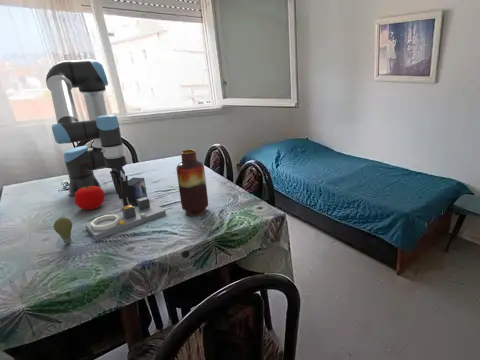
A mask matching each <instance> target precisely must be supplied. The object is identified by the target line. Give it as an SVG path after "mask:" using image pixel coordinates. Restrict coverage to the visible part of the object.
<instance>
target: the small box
mask: <svg viewBox="0 0 480 360" xmlns="http://www.w3.org/2000/svg"><path fill="white" fill-rule="evenodd" d="M128 190H129V197H127V198H128V203H129V205H132V206H133V207H138V203H137V199H140V198H143V197H147V198H148V191H147V187H146V180H145V178H144V177H131V178H130V179H128Z"/></svg>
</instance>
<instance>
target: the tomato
mask: <svg viewBox="0 0 480 360" xmlns="http://www.w3.org/2000/svg"><path fill="white" fill-rule="evenodd" d="M73 200H74V203H75V205H76V206H77V207H78V208H79V209H81V210H95V209H97V208H99V207H100V206H102V205H103V203H104V200H105V192H104V190H103V189H102V188H100V187H97V186H94V185H93V186H86V187H85V186H84V187H83V188H81V189H79V190H78V191H77V192H76V194H75V196H74V199H73Z"/></svg>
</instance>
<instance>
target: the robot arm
mask: <svg viewBox="0 0 480 360" xmlns="http://www.w3.org/2000/svg"><path fill="white" fill-rule="evenodd" d="M45 82H46V83H45V84H46V88H47V90H49V92H50V94H51V98H52V104H53V108H54V114H55V118H56V123H55V124H52V125H51V130H52V134H53V138H54V141H55V143H56V144H58V145H60V144H61V145H62V144H63V145H65V144H73V143H78V142H84V141H91V140H93V142H92V143H91V147H88V146H87V145H81V146H76V147H73V148H70V149H67V150H66V151H64V152H63V160H64V163H65V167H66V171H67V173H68V174H67V175H68V179H69V183H68V185H69V186H68V193H69V196H71V197H75V194H76V192H77V191H78V190H79V189H81V188H83V187H84V186H85V187H86V186H93V185H94V186H97V187H100V188H101V184H100V182H99V181H98V179H97V177H96V176H95V173H94V171H97V170H101V169H106V168H107V169H111V171H109V174H110V176H111V179H112V182H113V186H114V189H115V193H116V195H117V196H118V199H119V203H120V207H121V209H122V208H123V207H125V206H128V205H129V203H128V198H127V197H129V190H128V180H129V179H128V178H129V177H128V175H125V174H126V171H125V170H124V168H123V167H124V166H126V165H127V159H126V156H125V148H124V143H123V141H122V140H123V139H122V136H121V135H122V134H121V130H120V129H121V128H120V122H119V119H118V116H117V115H116V114H108V111H107V107H106V101H105V96H104V93H105V91H106V90H107V89H106V87H107V86H108V85H109V82H108V78H107V74H106V72H105V69H104V66H103V64H102V63H101V61H100V60H97V59H96V60H95V59H80V60H79V59H78V60H63V61H60V62H59V61H58V62H57V63H55V64H54V65H53V66H52V67H51V68H50V69H49V70H48V72H47V74H46V77H45ZM74 88H75V89H77V88H78V91H79V92H80V93H81V94H82V95H83V97H84V101H85V106H86V110H87V115H88V119H87V120H81V121H80V120H79V116H78V113H77V110H76V109H77V108H76V105H75V101H74V98H73V93H72V89H74ZM101 189H102V188H101Z"/></svg>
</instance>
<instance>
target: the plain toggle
mask: <svg viewBox="0 0 480 360" xmlns="http://www.w3.org/2000/svg"><path fill="white" fill-rule="evenodd" d="M137 203H138V206H137V207H138V208H140V209H141V210H142V209H145V208H148V207H150V198H149V197H148V196H147V197H143V198H140V199H137Z"/></svg>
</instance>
